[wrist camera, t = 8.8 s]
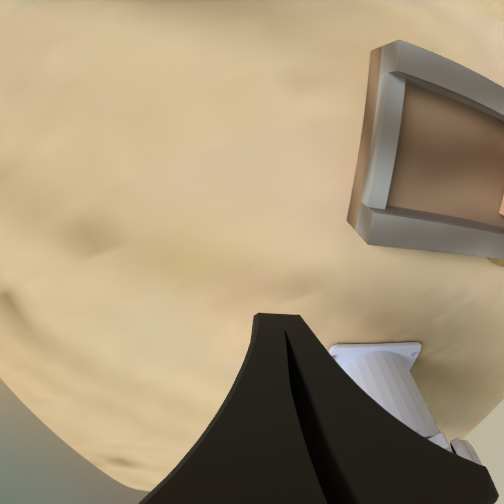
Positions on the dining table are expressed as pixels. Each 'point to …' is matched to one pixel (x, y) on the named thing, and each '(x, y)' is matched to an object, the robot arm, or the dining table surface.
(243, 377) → the robot arm
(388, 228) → the grey rectangular tray
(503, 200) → the salmon orange block
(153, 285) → the dining table surface
